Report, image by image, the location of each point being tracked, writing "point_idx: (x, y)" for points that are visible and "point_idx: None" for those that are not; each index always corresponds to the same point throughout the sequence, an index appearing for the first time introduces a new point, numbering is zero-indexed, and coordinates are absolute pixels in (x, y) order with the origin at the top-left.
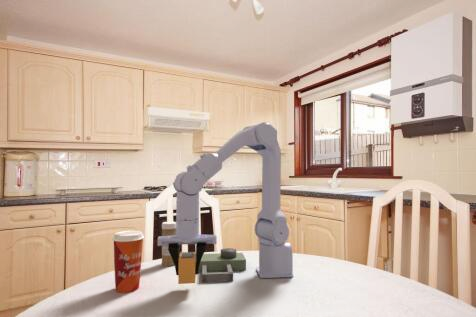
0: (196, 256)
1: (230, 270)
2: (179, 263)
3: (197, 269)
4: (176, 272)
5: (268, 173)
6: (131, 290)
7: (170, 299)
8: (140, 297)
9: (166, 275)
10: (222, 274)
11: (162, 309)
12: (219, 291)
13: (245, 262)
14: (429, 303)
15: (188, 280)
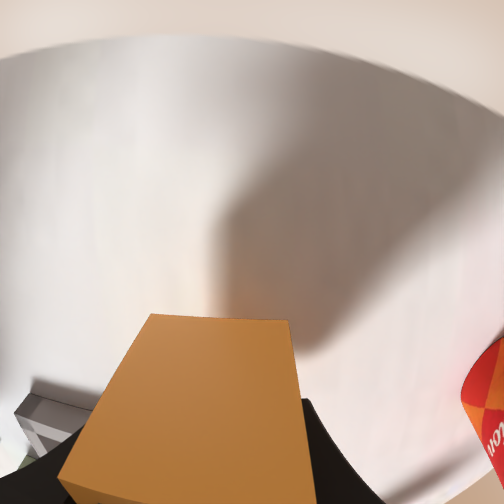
0: (57, 500)
1: (35, 443)
2: (296, 455)
3: None
4: (312, 411)
5: None
6: (498, 346)
7: (329, 231)
8: (475, 281)
9: None
10: (53, 425)
11: (368, 96)
12: (51, 299)
13: None
14: None
15: (199, 329)
